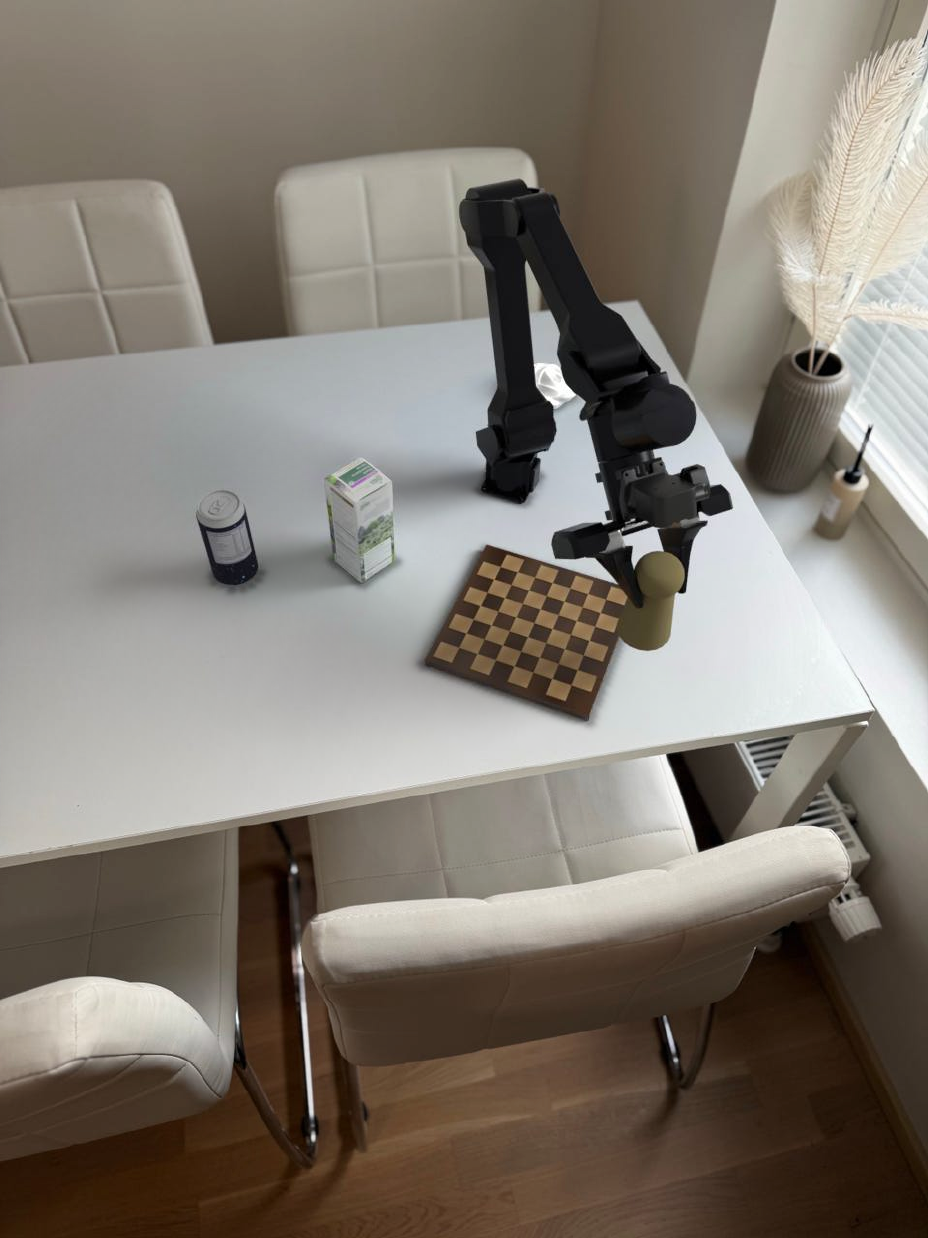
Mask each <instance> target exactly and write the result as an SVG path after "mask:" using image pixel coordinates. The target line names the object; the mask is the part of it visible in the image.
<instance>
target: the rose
mask: <svg viewBox="0 0 928 1238" xmlns="http://www.w3.org/2000/svg"><path fill="white" fill-rule="evenodd" d="M534 369H535V379H536V386H537V388H538V389H539V390H540V392H541V393H542V394H543V396H544V397H545V398H546V399H547V400H548V401H550V402H551V403H552V405H553V407H554V410H558V409H559V408H560V407H561V406H562V405H563V404H565V403H567V402H569V401H571V400H572V399H573V398H575V397H576V396H577V394H575V393H574V392H573V391H572V390H571V389H570V388H569V387H568V386H567V385H566V383H565V381H564V379H563V376H562V372H561V367H560V366H558V365H557V364H555V363H546V362H537V363H534Z"/></svg>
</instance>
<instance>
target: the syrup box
mask: <svg viewBox="0 0 928 1238" xmlns="http://www.w3.org/2000/svg"><path fill="white" fill-rule="evenodd" d="M323 483H324V494H325V502H326V509H327V518H328V519H327V520H328V525H329V527H328V528H329V534H330V542H331V552H332V560H333V561H334V562H335V563H336V564H337V565H339V566H340V567H341V568H342V569H344V570H345V571H346V572H347V573H348V574H349V575H350V576H352V577H353V578H354V579H356V580H357V581H358V582H359V583H361V584H364V583H366V582H367V581H368V580H370V579H372V578H373V577H374V576H376V575H378V574H379V573H380V572H381V571H383V570H384V569H386V568H388V567H389V566H390V565H392V564H394V563H395V561H396V557H395V556H396V555H395V554H396V553H395V532H394V531H395V529H394V527H395V525H394V503H393V502H394V501H393V481H392V480H391V479H390V478H389V477H387V475H385V474H384V473H383V472H382V471H381V470H380V469H378V468H377V467H376V466H374V465H373V464H372V463H370V462H369V461H367V460H366V459H364V458H363V457H361V456H359V457H358V458H357V459H355V460H353V461H352V462H349V463H348V464H346V465H345V466H342V468H340V469H338V470H336V471H335V472H333V473H332V474H330V475H328V476H326V477H324V478H323Z"/></svg>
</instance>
